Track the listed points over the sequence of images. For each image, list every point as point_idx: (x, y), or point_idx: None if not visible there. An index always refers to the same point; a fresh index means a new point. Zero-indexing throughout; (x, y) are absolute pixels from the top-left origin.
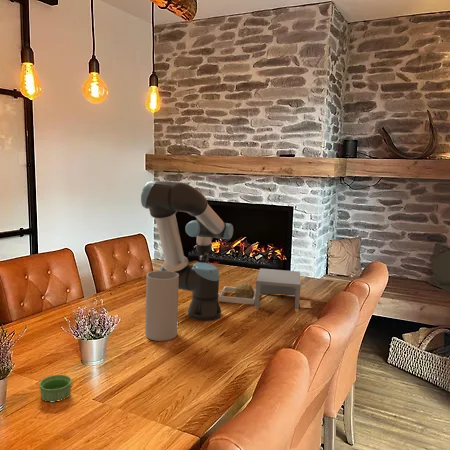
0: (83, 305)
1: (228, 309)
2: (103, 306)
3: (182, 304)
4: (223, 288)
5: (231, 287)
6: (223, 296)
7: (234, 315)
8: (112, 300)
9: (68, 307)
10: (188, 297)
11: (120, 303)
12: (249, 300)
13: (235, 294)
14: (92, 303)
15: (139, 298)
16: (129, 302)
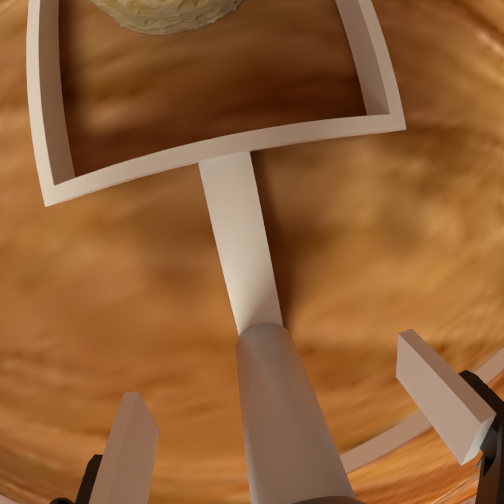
0: (467, 490)
1: (460, 46)
2: (477, 470)
3: (471, 334)
4: (115, 178)
5: (43, 122)
6: (390, 85)
7: (499, 21)
8: (435, 494)
9: (476, 490)
10: (355, 377)
11: (459, 470)
12: None
13: (234, 4)
14: (456, 493)
15: (412, 480)
16: (451, 467)
